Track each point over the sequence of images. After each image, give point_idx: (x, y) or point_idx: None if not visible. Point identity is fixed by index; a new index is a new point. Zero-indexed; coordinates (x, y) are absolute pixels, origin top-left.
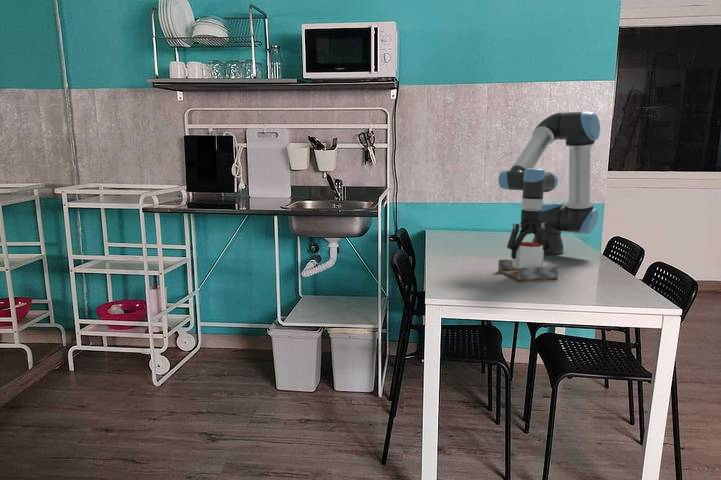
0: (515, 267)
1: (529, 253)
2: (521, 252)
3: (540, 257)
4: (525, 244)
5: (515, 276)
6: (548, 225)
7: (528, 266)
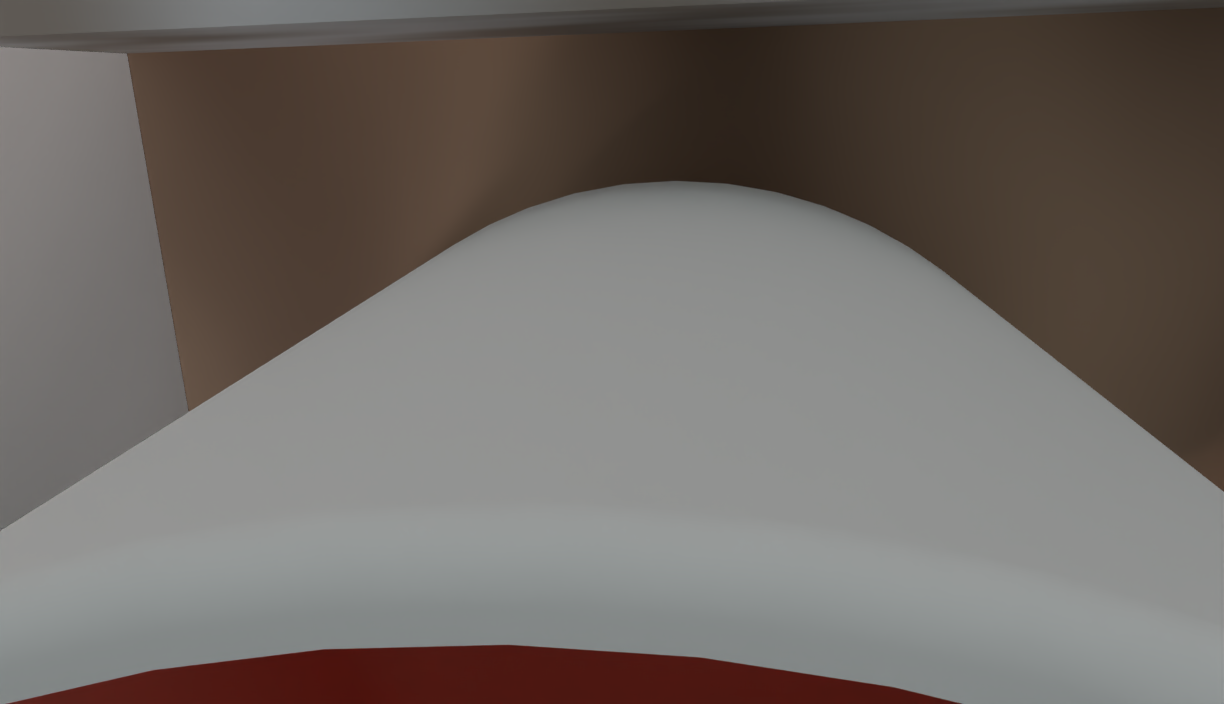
0: None
1: (1082, 418)
2: None
3: (302, 340)
4: None
5: (1213, 219)
6: None
7: (894, 244)
